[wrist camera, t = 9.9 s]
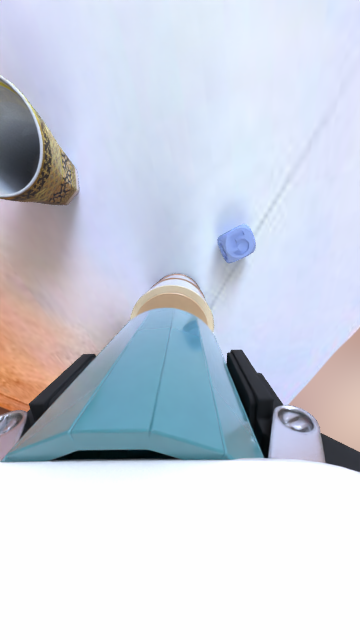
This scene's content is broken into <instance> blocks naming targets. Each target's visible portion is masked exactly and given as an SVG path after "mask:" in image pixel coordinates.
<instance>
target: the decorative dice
mask: <svg viewBox="0 0 360 640" xmlns="http://www.w3.org/2000/svg"><path fill="white" fill-rule="evenodd" d="M218 245H219V248H220V251H221V253H222V255H223V257H224V259H225V261H226V262H227V263H232V262H235V261H237V260H239V259H242V258H244V257H246V256H248V255H250V254H251V253H253V252H254V250H255V246H256V245H255V239H254V236H253V233H252V231H251V229H250V228H249V227H248V226H247V225H246V224H242V225H240V226H238V227H236V228H234V229H232V230H230V231H229V232H227V233H225V234H223V235H221V236H219V237H218Z"/></svg>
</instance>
